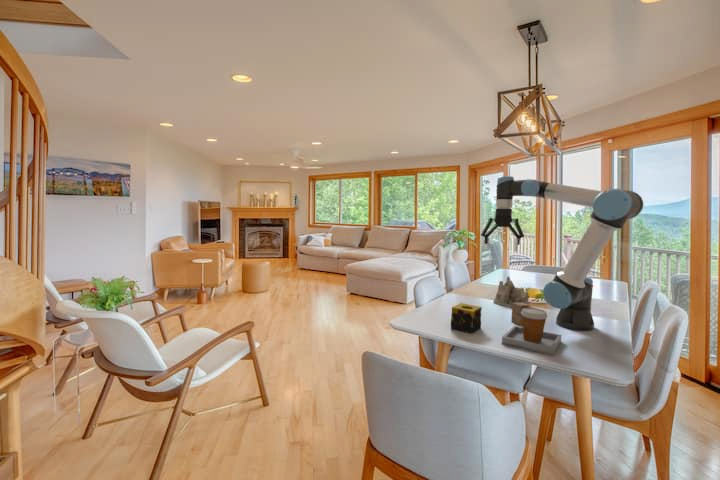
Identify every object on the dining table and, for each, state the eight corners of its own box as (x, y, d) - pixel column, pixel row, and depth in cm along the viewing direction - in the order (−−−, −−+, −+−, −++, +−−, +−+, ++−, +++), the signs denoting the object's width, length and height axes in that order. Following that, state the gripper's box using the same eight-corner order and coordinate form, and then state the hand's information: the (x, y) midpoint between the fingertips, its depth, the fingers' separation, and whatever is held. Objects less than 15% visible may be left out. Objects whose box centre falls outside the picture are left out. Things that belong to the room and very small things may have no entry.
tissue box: (459, 324, 168) (460, 302, 167) (481, 328, 162) (482, 306, 161) (449, 329, 160) (450, 306, 159) (472, 334, 154) (473, 311, 153)
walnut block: (519, 320, 175) (520, 302, 174) (527, 324, 170) (529, 304, 169) (511, 321, 173) (512, 303, 172) (519, 325, 168) (520, 305, 168)
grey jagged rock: (488, 301, 209) (492, 276, 208) (508, 300, 217) (512, 275, 215) (511, 310, 196) (515, 283, 194) (532, 308, 204) (536, 281, 202)
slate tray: (560, 341, 148) (561, 335, 148) (553, 355, 133) (553, 348, 133) (513, 332, 158) (514, 325, 158) (501, 343, 144) (502, 336, 144)
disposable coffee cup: (548, 346, 141) (550, 315, 140) (522, 343, 142) (524, 313, 141) (541, 337, 150) (543, 308, 149) (516, 335, 152) (518, 306, 151)
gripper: (527, 208, 185) (524, 250, 187) (476, 207, 187) (474, 249, 188) (532, 208, 177) (530, 252, 179) (479, 207, 179) (477, 251, 181)
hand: (501, 251), depth 184 cm, fingers open, 13 cm apart
